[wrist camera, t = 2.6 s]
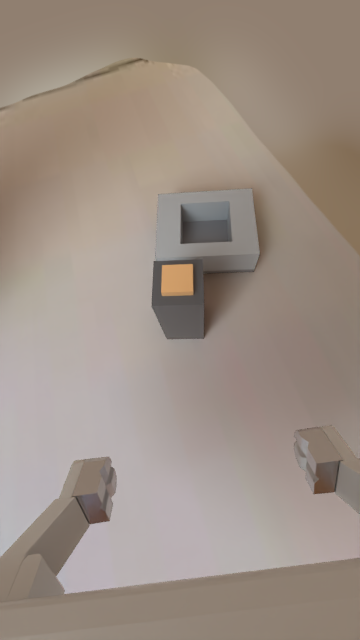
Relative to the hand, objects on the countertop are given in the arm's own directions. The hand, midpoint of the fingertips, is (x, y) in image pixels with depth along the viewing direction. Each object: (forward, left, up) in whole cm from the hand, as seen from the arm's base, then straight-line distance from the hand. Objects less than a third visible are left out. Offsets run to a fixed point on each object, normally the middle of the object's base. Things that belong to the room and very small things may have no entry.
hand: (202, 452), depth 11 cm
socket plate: (+1, +22, -14) cm, 26 cm away
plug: (-2, +11, -14) cm, 18 cm away
